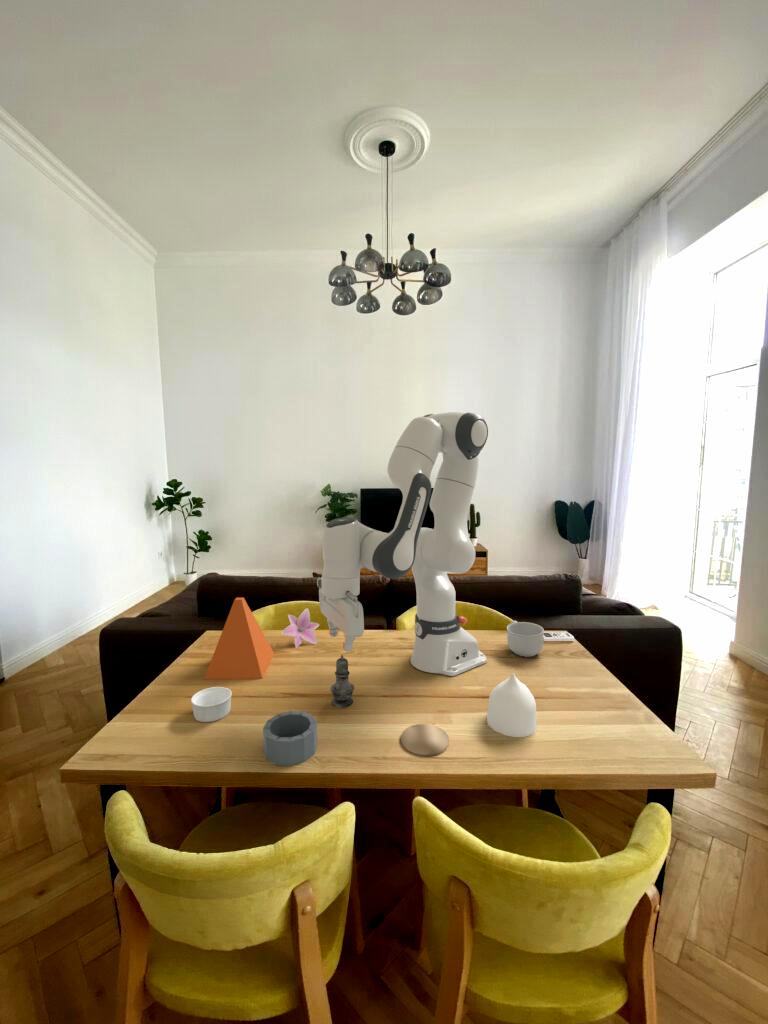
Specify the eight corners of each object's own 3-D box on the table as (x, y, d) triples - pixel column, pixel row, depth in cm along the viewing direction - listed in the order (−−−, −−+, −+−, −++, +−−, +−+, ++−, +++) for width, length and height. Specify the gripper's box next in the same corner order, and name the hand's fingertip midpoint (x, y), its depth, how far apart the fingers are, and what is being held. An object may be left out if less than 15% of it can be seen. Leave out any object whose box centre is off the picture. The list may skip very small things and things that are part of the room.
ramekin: (191, 707, 107) (190, 690, 107) (230, 700, 111) (230, 683, 110) (191, 728, 99) (190, 709, 99) (234, 719, 103) (233, 701, 102)
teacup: (548, 660, 133) (549, 634, 132) (511, 660, 133) (512, 634, 132) (533, 641, 146) (534, 618, 145) (499, 641, 146) (500, 617, 146)
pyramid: (274, 654, 137) (273, 590, 135) (262, 679, 121) (260, 607, 119) (222, 654, 137) (220, 590, 134) (203, 679, 121) (200, 608, 119)
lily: (275, 650, 142) (282, 629, 137) (282, 624, 152) (289, 603, 148) (312, 659, 144) (320, 638, 140) (316, 632, 154) (324, 612, 150)
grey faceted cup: (307, 728, 99) (307, 706, 98) (323, 755, 90) (322, 732, 89) (259, 741, 94) (259, 718, 94) (270, 771, 85) (270, 747, 84)
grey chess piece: (344, 711, 106) (344, 662, 104) (325, 703, 109) (324, 656, 107) (359, 699, 111) (359, 653, 109) (340, 693, 114) (339, 647, 112)
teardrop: (531, 743, 94) (533, 689, 92) (480, 728, 99) (481, 676, 98) (541, 717, 103) (543, 667, 102) (493, 704, 109) (495, 657, 107)
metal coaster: (432, 722, 101) (432, 719, 101) (458, 747, 92) (458, 744, 92) (392, 733, 97) (392, 731, 97) (416, 761, 88) (416, 758, 88)
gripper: (371, 596, 99) (370, 657, 100) (338, 575, 117) (337, 627, 118) (344, 600, 96) (344, 662, 97) (314, 577, 114) (314, 630, 115)
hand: (340, 642), depth 108 cm, fingers open, 8 cm apart
